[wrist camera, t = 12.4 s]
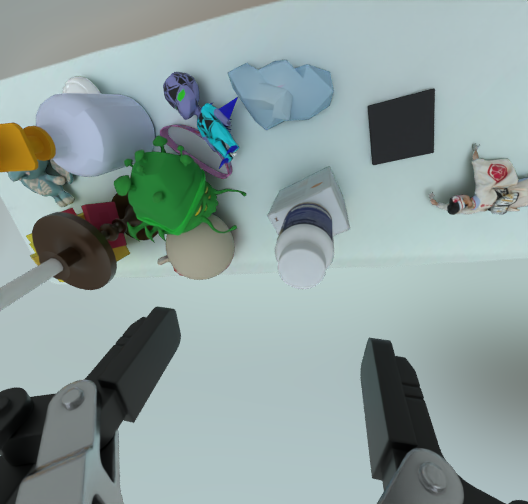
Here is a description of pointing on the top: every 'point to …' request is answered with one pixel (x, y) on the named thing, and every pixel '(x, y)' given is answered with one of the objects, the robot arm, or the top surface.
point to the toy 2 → (200, 250)
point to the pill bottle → (305, 245)
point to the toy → (97, 217)
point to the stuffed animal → (46, 182)
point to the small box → (312, 199)
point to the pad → (402, 127)
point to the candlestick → (74, 251)
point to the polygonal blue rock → (282, 91)
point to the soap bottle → (79, 135)
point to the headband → (203, 166)
